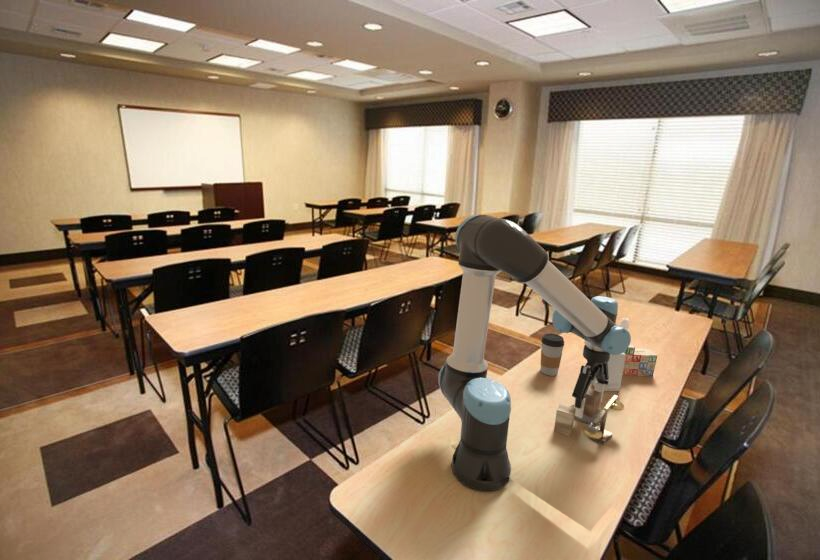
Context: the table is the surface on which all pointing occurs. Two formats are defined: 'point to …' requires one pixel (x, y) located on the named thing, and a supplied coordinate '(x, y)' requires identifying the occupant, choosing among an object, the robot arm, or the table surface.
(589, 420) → the plate
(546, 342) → the coffee cup
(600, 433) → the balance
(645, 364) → the stack of blocks
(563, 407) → the maple block
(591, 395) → the walnut block
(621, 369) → the skincare box
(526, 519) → the table surface
